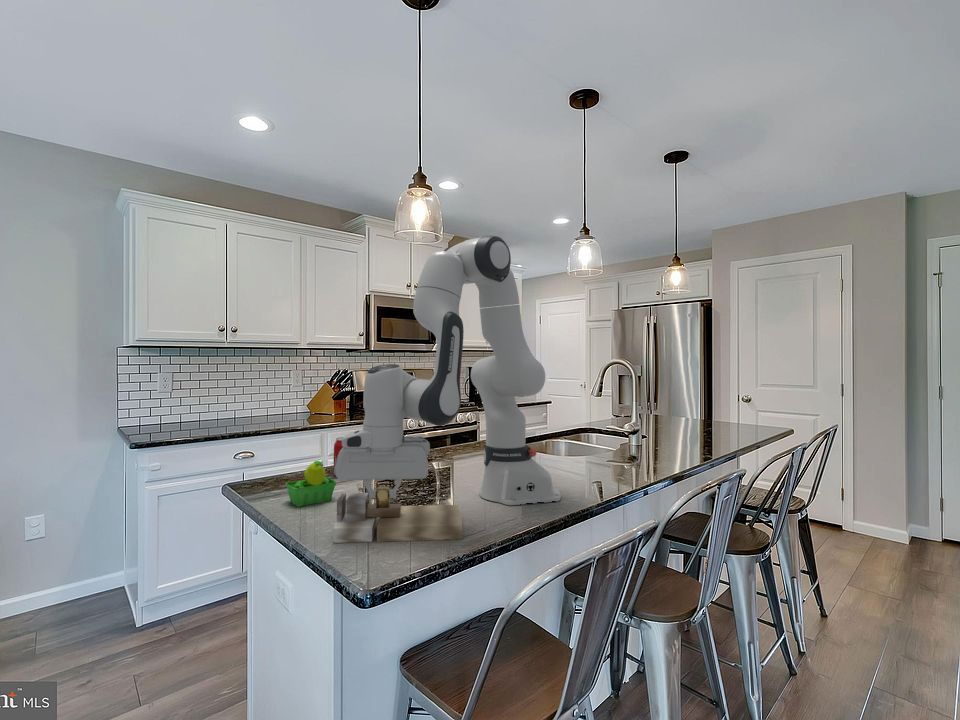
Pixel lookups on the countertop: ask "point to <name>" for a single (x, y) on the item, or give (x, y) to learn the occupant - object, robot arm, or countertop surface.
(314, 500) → the fruit basket
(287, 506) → the countertop surface
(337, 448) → the soda can
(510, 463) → the robot arm
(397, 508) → the bolt
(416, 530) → the door mockup
